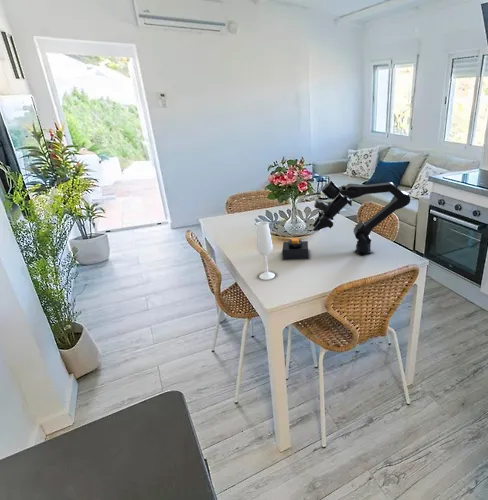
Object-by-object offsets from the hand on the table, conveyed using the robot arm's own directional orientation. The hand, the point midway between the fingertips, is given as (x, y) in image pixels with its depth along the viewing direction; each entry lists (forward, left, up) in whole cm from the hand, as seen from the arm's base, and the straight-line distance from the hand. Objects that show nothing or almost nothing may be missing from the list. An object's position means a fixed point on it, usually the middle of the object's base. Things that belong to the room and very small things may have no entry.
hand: (313, 228), depth 166 cm
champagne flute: (+28, +9, -14) cm, 32 cm away
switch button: (+8, -4, -7) cm, 11 cm away
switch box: (+8, -4, -14) cm, 16 cm away
